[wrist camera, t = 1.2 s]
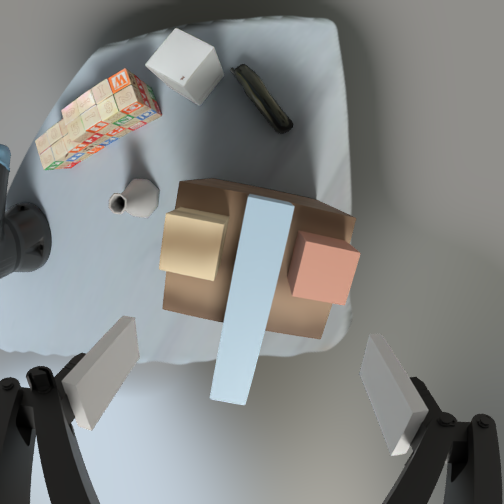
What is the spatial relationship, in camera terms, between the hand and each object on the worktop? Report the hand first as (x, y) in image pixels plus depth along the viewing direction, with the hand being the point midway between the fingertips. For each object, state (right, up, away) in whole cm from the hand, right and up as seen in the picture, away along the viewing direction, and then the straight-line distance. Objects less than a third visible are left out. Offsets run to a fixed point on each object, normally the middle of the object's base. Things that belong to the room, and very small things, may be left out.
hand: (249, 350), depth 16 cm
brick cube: (+7, +5, +15) cm, 17 cm away
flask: (-20, +15, +36) cm, 43 cm away
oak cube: (-5, +7, +15) cm, 17 cm away
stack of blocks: (-26, +28, +33) cm, 50 cm away
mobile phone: (+2, +31, +31) cm, 44 cm away
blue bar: (0, 0, +16) cm, 16 cm away
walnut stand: (+1, +9, +37) cm, 38 cm away
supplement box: (-9, +35, +30) cm, 47 cm away
